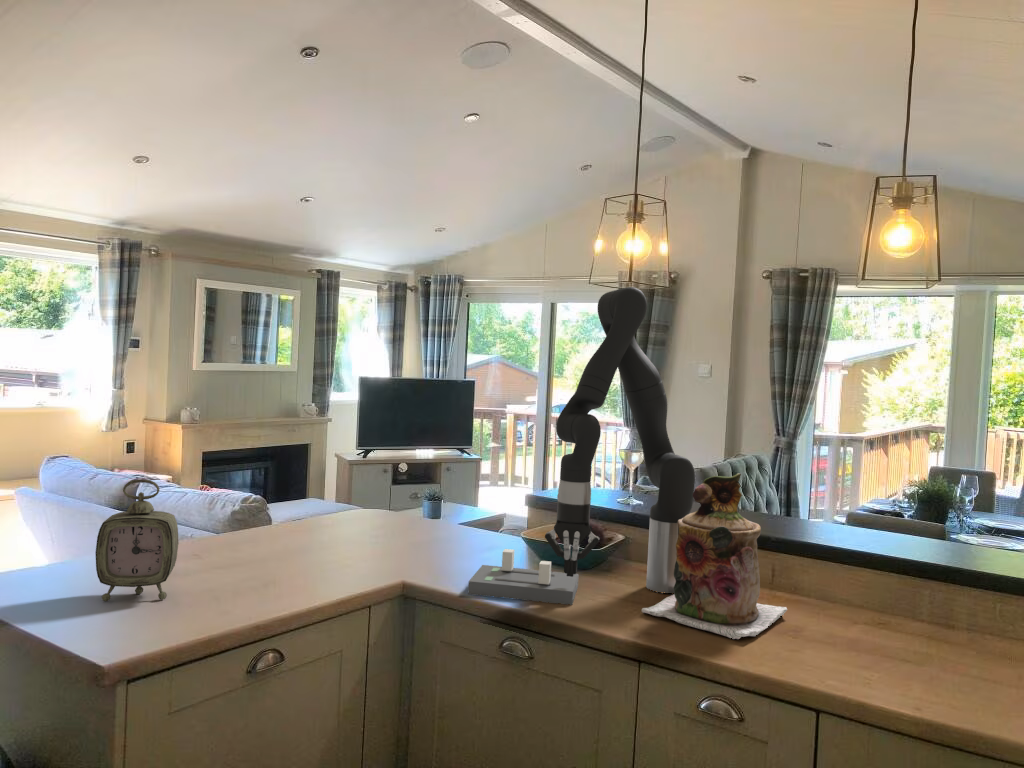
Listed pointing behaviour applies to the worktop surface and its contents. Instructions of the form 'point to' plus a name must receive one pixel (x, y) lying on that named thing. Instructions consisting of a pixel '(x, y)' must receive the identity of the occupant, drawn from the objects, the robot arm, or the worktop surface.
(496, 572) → the slider control panel
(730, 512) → the cookie jar
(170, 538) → the tabletop clock
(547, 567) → the block
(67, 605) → the worktop surface
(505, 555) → the block
